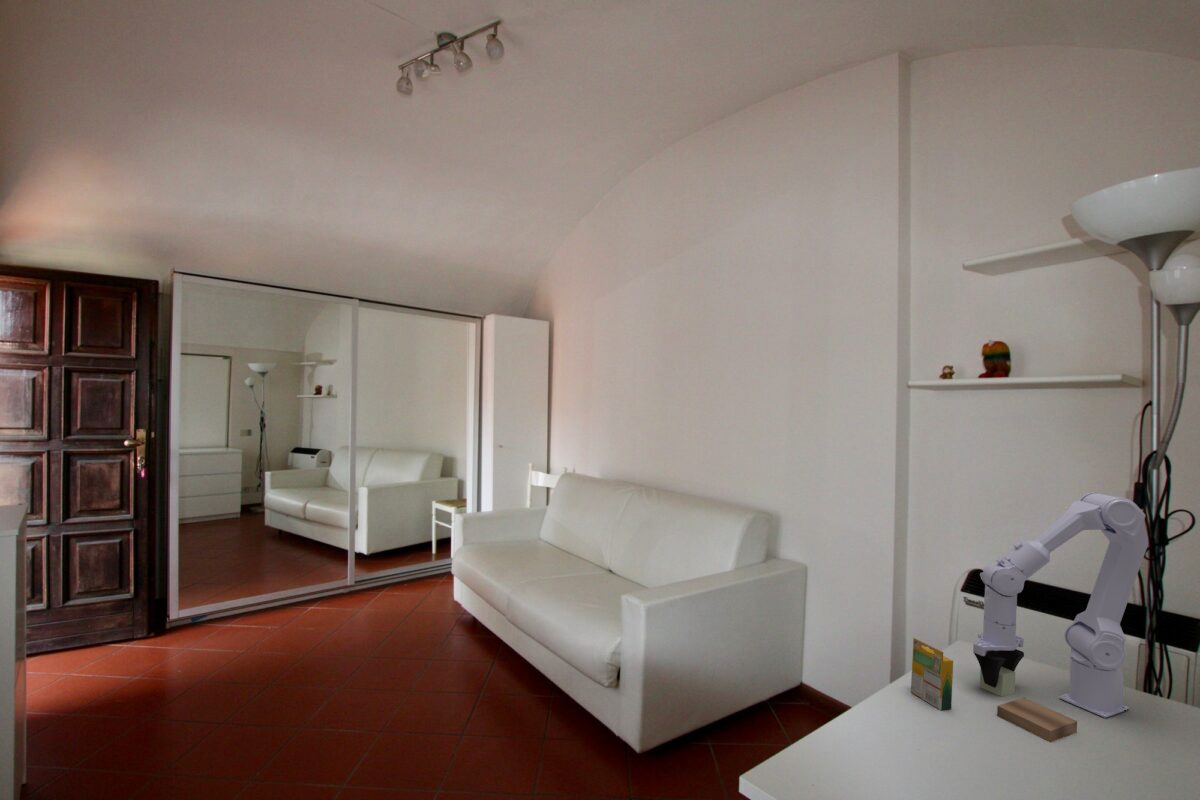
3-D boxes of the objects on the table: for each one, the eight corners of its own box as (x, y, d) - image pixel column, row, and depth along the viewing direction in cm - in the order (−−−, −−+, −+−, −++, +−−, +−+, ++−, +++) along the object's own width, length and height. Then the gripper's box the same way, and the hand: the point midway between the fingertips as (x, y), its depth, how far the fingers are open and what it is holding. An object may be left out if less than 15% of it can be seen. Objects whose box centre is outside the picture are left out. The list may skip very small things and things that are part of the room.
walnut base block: (1023, 709, 112) (1023, 697, 112) (1076, 734, 104) (1077, 721, 104) (997, 718, 108) (997, 705, 108) (1050, 744, 100) (1050, 730, 100)
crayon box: (952, 709, 110) (954, 651, 110) (940, 711, 109) (943, 652, 109) (921, 690, 117) (923, 636, 117) (910, 692, 116) (912, 637, 116)
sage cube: (992, 683, 122) (993, 662, 122) (1014, 693, 118) (1015, 672, 118) (979, 686, 120) (980, 666, 120) (1002, 696, 116) (1002, 675, 116)
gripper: (1000, 610, 126) (997, 669, 125) (959, 617, 120) (957, 679, 119) (1034, 621, 119) (1032, 684, 119) (994, 630, 113) (991, 695, 113)
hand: (997, 683), depth 119 cm, fingers closed on sage cube, 4 cm apart
